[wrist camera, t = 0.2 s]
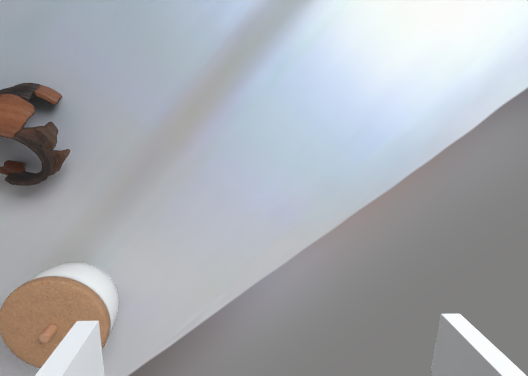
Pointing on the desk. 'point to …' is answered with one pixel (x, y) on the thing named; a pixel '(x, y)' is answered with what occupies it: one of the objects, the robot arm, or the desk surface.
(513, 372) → the robot arm
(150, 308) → the desk surface
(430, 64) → the desk surface
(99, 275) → the lidded jar
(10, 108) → the broken clay pot
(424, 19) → the desk surface
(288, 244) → the desk surface
